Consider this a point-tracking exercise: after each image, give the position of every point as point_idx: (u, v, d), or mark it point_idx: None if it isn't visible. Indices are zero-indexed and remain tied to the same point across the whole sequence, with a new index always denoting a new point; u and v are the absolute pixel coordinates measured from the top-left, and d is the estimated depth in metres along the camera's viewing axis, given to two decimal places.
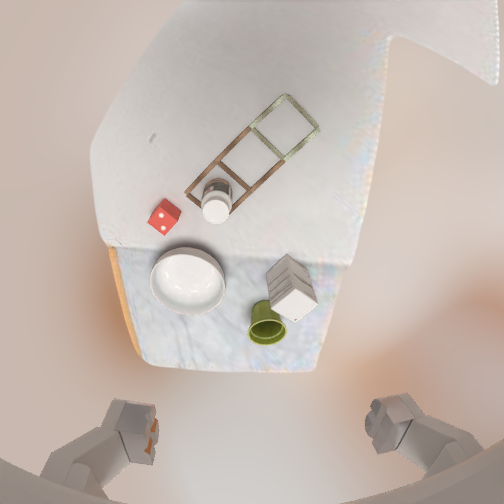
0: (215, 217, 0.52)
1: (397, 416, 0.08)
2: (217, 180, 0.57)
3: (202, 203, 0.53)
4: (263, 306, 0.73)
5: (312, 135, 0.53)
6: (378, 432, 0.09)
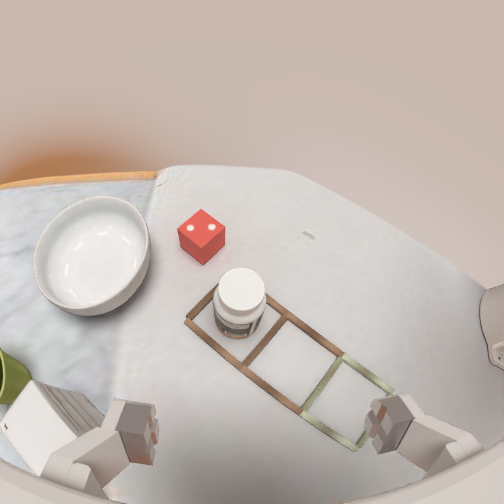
0: (231, 287, 0.29)
1: (397, 416, 0.08)
2: None
3: None
4: (24, 379, 0.27)
5: (346, 443, 0.30)
6: (378, 432, 0.09)
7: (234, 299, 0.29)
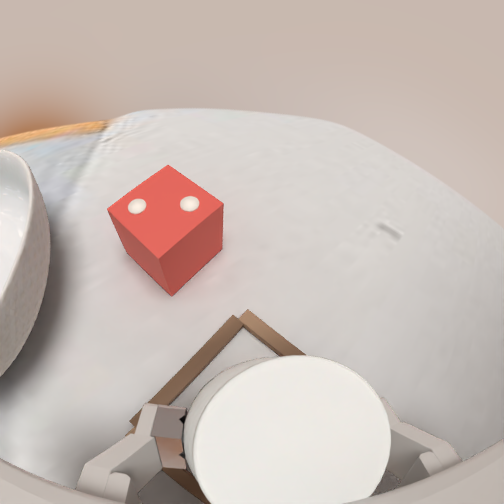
0: (254, 452, 0.05)
1: None
2: None
3: None
4: None
5: None
6: None
7: (269, 501, 0.05)
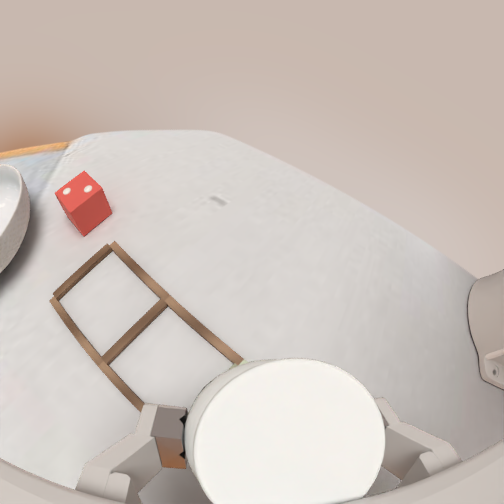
0: (252, 452, 0.05)
1: None
2: None
3: None
4: None
5: None
6: None
7: (267, 499, 0.05)
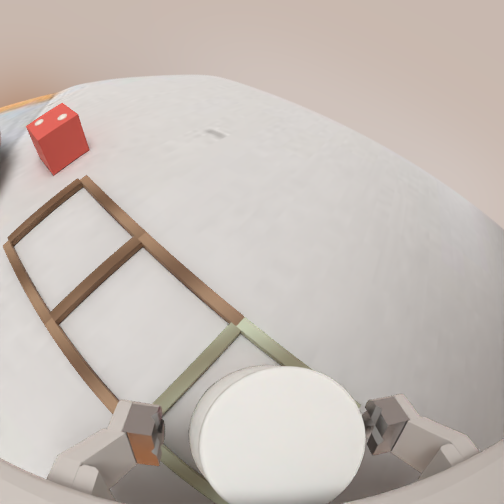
0: (249, 445, 0.06)
1: (392, 417, 0.08)
2: None
3: None
4: None
5: None
6: (373, 433, 0.09)
7: (261, 487, 0.06)
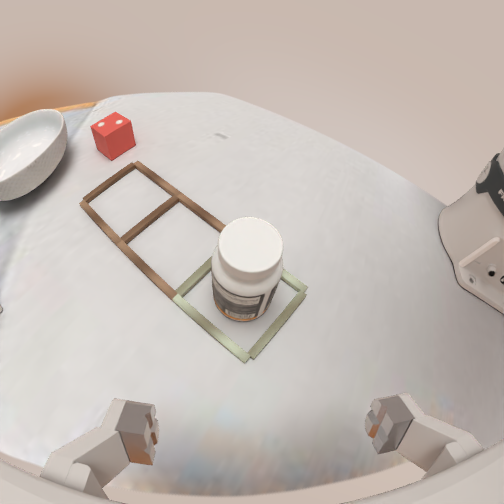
0: (236, 241, 0.21)
1: (397, 416, 0.08)
2: None
3: None
4: None
5: (232, 346, 0.26)
6: (378, 432, 0.09)
7: (241, 257, 0.20)
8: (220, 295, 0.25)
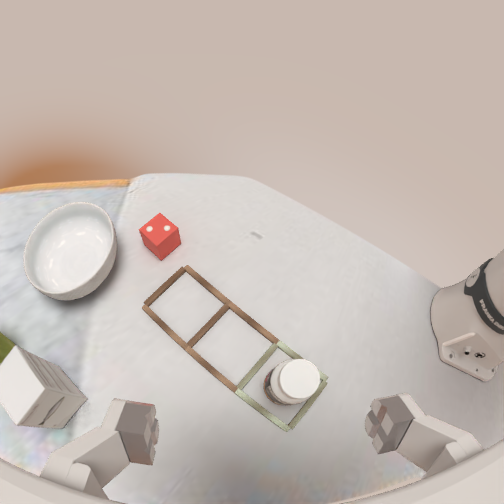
0: (291, 378, 0.30)
1: (397, 416, 0.08)
2: None
3: None
4: None
5: (278, 422, 0.36)
6: (378, 432, 0.09)
7: (294, 389, 0.30)
8: (274, 397, 0.34)
